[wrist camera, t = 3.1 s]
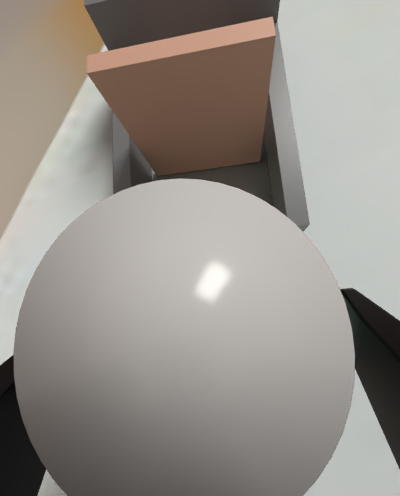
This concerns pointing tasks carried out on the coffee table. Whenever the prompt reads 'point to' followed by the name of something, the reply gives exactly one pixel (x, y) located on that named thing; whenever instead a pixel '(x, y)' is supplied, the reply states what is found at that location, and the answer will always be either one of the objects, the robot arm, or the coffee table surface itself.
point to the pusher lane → (187, 22)
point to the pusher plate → (192, 95)
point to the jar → (184, 348)
